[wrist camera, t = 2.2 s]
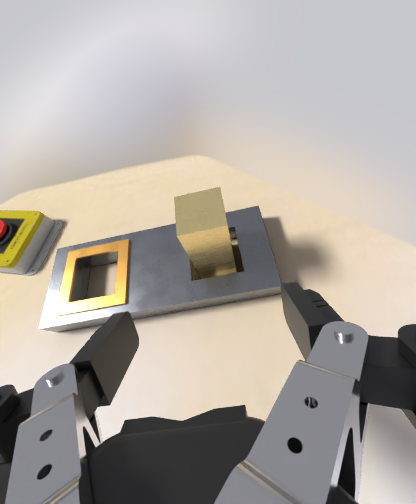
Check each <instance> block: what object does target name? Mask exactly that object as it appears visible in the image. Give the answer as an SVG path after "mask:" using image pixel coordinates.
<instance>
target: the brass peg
mask: <svg viewBox="0 0 416 504" xmlns="http://www.w3.org/2000/svg"><path fill="white" fill-rule="evenodd" d="M174 200H175V216H176V232H177V237H178V239H179V241H180V242H181V244H182V246H183V248H184V249H185V251H186V253H187V254H188V256H189V258H190V260H191V261H192V263H193V265H194V266H195V268H196V270H197V272H198V273H199V275H200V277H201V278H202V279H205V278H211V277H216V276H222V275H227V274H232V273H237V271H236V266H235V261H234V255H233V250H232V245H231V240H230V235H229V230H228V225H227V220H226V215H225V209H224V204H223V199H222V194H221V189H220V187H217V188H213V189H209V190H204V191H200V192H195V193H191V194H187V195H182V196H178V197H174Z"/></svg>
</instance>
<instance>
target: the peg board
mask: <svg viewBox="0 0 416 504" xmlns="http://www.w3.org/2000/svg"><path fill="white" fill-rule="evenodd" d="M225 215H226V220H227V225H228V230H229V235H230V239H233V238H237V242H238V247H239V252H240V256H241V261H242V265H243V270H244V271H243V272H238V273H232V274H227V275H222V276H216V277H211V278H205V279H200V280H196V275H195V266H194V265H193V263H192V261H191V260H190V258H189V256H188V254H187V253H186V251H185V249H184V248H183V246H182V244H181V242H180V241H179V239H178V237H177V232H176V224H171V225H166V226H162V227H157V228H152V229H148V230H143V231H139V232H134V233H129V234H125V235H120V236H115V237H111V238H106V239H101V240H97V241H92V242H87V243H83V244H78V245H73V246H69V247H64V248H59V249H57V253H56V258H55V262H54V266H53V271H52V275H51V279H50V283H49V288H48V292H47V296H46V301H45V305H44V309H43V313H42V318H41V322H40V326H39V329H43V330H48V331H53V332H60V331H66V330H72V329H78V328H84V327H89V326H95V325H101V324H105V323H106V322H107V320H108V319H109V318H110V317H111V315H112V314H114V313H120V312H125V311H128V312H129V313H130V314H131V317H132V319H136V318H142V317H148V316H153V315H159V314H165V313H171V312H177V311H182V310H188V309H194V308H200V307H206V306H212V305H217V304H223V303H229V302H235V301H241V300H246V299H252V298H258V297H264V296H270V295H275V294H280V292H281V288H280V285H281V284H282V283H281V280H280V277H279V273H278V270H277V266H276V263H275V260H274V256H273V253H272V250H271V246H270V243H269V239H268V236H267V233H266V229H265V226H264V222H263V219H262V216H261V212H260V209H259V206H255V207H250V208H246V209H241V210H236V211H232V212H227V213H225ZM114 262H118V264H117V277H116V289H115V294H113V295H108V296H102V297H97V298H92V299H86V294H87V287H88V280H89V274H90V267H95V266H100V265H105V264H109V263H114Z"/></svg>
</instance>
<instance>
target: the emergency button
mask: <svg viewBox="0 0 416 504" xmlns="http://www.w3.org/2000/svg"><path fill="white" fill-rule="evenodd" d="M62 224H63V223H62V221H60V220H52V219H50V218H49V217H47V216H45V215H44V214H43V213H41V212H39V211H15V210H0V273H8V274H17V275H26V276H32V275H34V274H36V273H37V272H38V271H39V269H40V267H41V265H42V263H43V261H44V259H45V257H46V256H47V254H48V252H49V250H50V248H51V246H52V244H53V242H54V240H55V238H56V237H57V235H58V233H59V231H60V229H61V227H62Z"/></svg>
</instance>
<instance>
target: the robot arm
mask: <svg viewBox="0 0 416 504" xmlns="http://www.w3.org/2000/svg"><path fill="white" fill-rule="evenodd" d="M280 288H281V295H282V302H283V309H284V315H285V319H286V322H287V324H288V327H289V329H290V331H291V333H292V335H293V337H294V339H295V341H296V343H297V345H298V347H299V349H300V351H301V353H302V355H303V357H304V359H305V361H306V362H305V361H301V360H298V361H297V362H296V364H295V365H294V367H293V369H292V371H291V373H290V375H289V377H288V379H287V381H286V383H285V385H284V387H283V389H282V391H281V392H280V394H279V396H278V398H277V400H276V402H275V404H274V406H273V408H272V410H271V412H270V414H269V416H268V418H267V420H266V422H265V421H263V420H261V419H257V418H254V417H248V416H247V412H246V407H245V405H241V406H233V407H225V408H217V409H213V410H210V411H207V412H205V413H202V414H200V415H197V416H194V417H192V418H189V419H187V420H184V421H177V420H171V419H165V418H159V417H146V418H138V419H130V420H125V421H124V424H123V426H122V429H121V432H120V433H118V434H116V435H114V436H112V437H110V438H108V439H107V440H105V441H104V442H103V438H102V434H101V429H100V425H99V420H98V416H97V414H96V412H95V411H96V409H97V407H100V406H107V405H110V404H111V402H112V400H113V398H114V396H115V394H116V392H117V390H118V388H119V386H120V384H121V382H122V380H123V378H124V375H125V373H126V371H127V369H128V367H129V365H130V363H131V361H132V359H133V357H134V355H135V353H136V351H137V349H138V346H139V337H138V334H137V331H136V328H135V325H134V322H133V320H132V317H131V314H130V313H129V312H128V311H125V312H120V313H114V314H112V315H111V317H110V318H109V319H108V320H107V322H106V323H105V324H104V325H103V326H102V327H101V328H99V329H98V330H97V331H95V333H94V334H93V335H92V336H91V337H90V340H88V341H87V342H86V344H85V346H83V347H82V348H81V350H80V351H79V352H78V353H77V354H76V356H75V357H74V358H73V359H72V360H71V362H70V363H69V364H64V365H60V366H58V367H56V368H54V369H52V370H50V371H49V372H47V373H46V374H45V375H43V376H42V377H41V378H40V379H39V380H38V381H37V383H36V384H35V386H34V388H33V389H30V390H27V391H25V392H22V393H19V394H18V393H17V391H16V389H15V387H14V386H13V385H5V386H2V387H0V504H358V497H359V490H360V481H361V467H362V453H363V446H364V440H365V433H366V427H367V420H368V414H369V408H370V404H376V405H382V406H388V407H394V408H400V409H402V411H403V412H404V413H405V415H406V416H407V418H408V419H409V420H410V422H411V423H412V424H413V426H414V427H415V428H416V324H411V325H406V326H403V327H401V328H400V329H399V331H398V338H394V337H378V336H370V335H368V334H367V332H366V331H365V330H364V329H363V328H362V327H360V326H358V325H356V324H353V323H350V322H344V320H343V319H342V318H341V317H340V316H339V315H338V314H337V313H336V312H335V311H334V310H333V308H332V307H331V306H329V304H328V303H327V302H326V301H324V299H323V298H322V296H321V295H320V294H319V293H317V292H315V291H313V290H310V289H308V290H303V289H302V288H301V287H300V286H299V284H298V283H297V282H296V281H295V282H290V283H284V284H281V285H280Z"/></svg>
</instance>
